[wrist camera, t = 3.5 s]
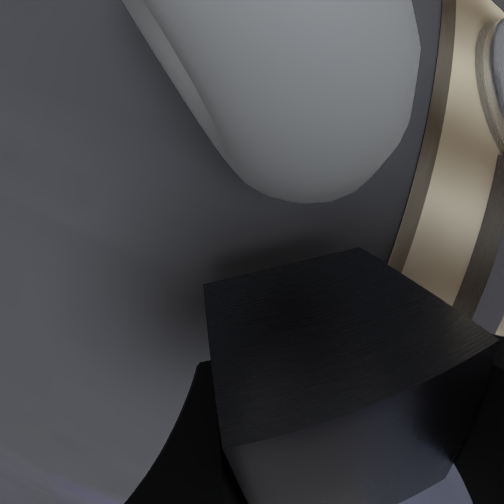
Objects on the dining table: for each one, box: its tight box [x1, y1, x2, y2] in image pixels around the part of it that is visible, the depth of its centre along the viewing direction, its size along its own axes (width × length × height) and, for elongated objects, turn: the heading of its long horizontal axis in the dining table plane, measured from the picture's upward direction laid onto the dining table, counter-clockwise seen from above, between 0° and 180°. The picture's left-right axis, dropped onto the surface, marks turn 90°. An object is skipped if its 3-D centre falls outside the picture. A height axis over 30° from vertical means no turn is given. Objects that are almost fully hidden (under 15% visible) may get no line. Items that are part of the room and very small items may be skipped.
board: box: [388, 0, 504, 336], centre depth 13 cm, size 22×12×1 cm, turn 165°
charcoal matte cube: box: [203, 247, 499, 504], centre depth 8 cm, size 5×5×6 cm
